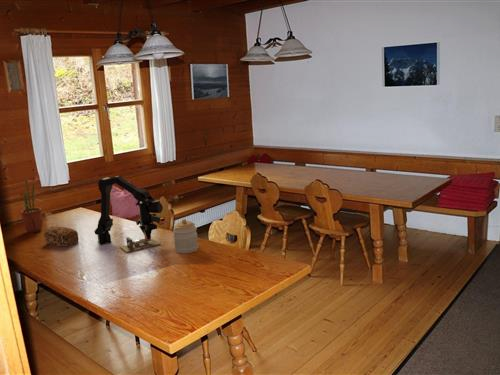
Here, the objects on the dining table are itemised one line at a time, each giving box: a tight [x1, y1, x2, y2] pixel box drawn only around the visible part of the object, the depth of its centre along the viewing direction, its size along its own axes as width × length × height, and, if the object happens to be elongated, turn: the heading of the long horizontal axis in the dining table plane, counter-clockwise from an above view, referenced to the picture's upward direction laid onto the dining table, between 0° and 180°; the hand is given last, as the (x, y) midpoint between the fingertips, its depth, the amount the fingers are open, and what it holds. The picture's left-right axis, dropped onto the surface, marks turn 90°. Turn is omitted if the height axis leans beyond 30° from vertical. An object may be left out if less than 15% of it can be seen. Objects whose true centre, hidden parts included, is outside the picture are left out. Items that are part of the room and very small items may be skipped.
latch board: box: [120, 236, 162, 254], centre depth 276 cm, size 20×11×6 cm, turn 122°
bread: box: [43, 226, 79, 247], centre depth 294 cm, size 19×11×10 cm, turn 62°
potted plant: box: [19, 179, 44, 234], centre depth 320 cm, size 17×16×35 cm
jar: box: [172, 218, 199, 254], centre depth 265 cm, size 13×13×18 cm
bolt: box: [126, 232, 152, 246], centre depth 276 cm, size 13×3×6 cm, turn 122°
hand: (148, 238), depth 279 cm, fingers closed on bolt, 3 cm apart
